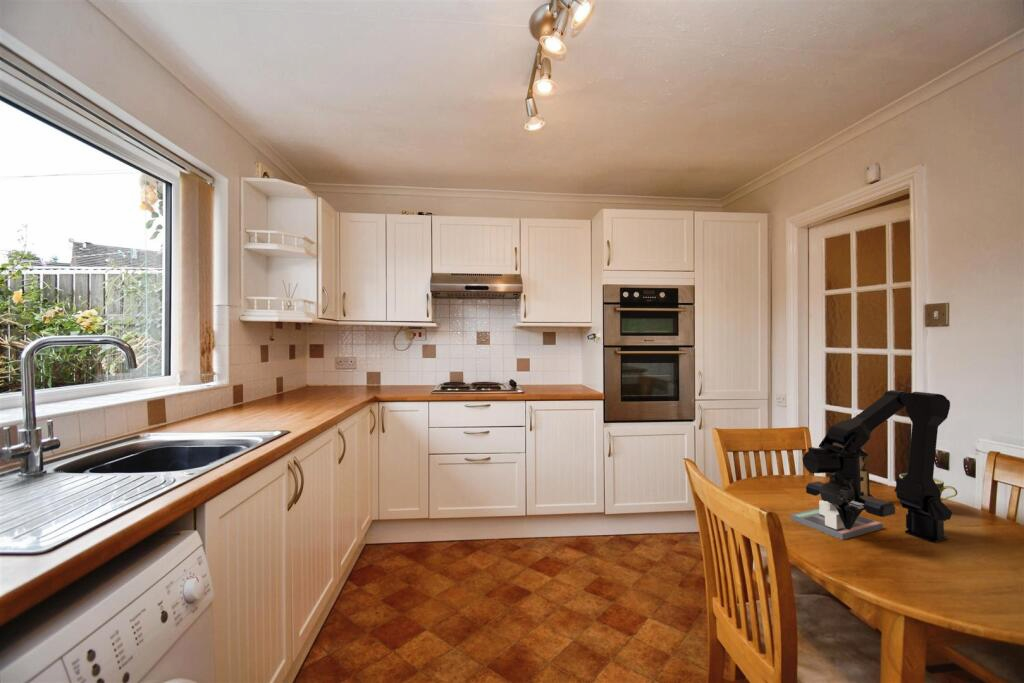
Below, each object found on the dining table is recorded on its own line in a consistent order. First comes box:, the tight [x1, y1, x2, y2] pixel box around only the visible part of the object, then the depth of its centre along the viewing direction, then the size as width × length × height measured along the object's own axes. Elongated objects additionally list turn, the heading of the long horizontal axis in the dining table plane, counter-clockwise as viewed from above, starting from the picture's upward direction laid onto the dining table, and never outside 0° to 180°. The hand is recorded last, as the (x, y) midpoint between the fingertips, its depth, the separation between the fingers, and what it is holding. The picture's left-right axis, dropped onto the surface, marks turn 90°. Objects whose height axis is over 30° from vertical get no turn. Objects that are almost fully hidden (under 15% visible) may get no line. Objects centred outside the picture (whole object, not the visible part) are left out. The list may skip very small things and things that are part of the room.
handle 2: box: [825, 509, 844, 530], centre depth 113 cm, size 3×3×4 cm
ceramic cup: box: [898, 473, 958, 502], centre depth 126 cm, size 13×10×10 cm
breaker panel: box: [790, 507, 884, 541], centre depth 118 cm, size 14×18×2 cm
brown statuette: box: [854, 448, 875, 500], centre depth 134 cm, size 7×6×18 cm
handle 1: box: [818, 499, 837, 516], centre depth 120 cm, size 3×3×4 cm
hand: (848, 529), depth 110 cm, fingers closed
